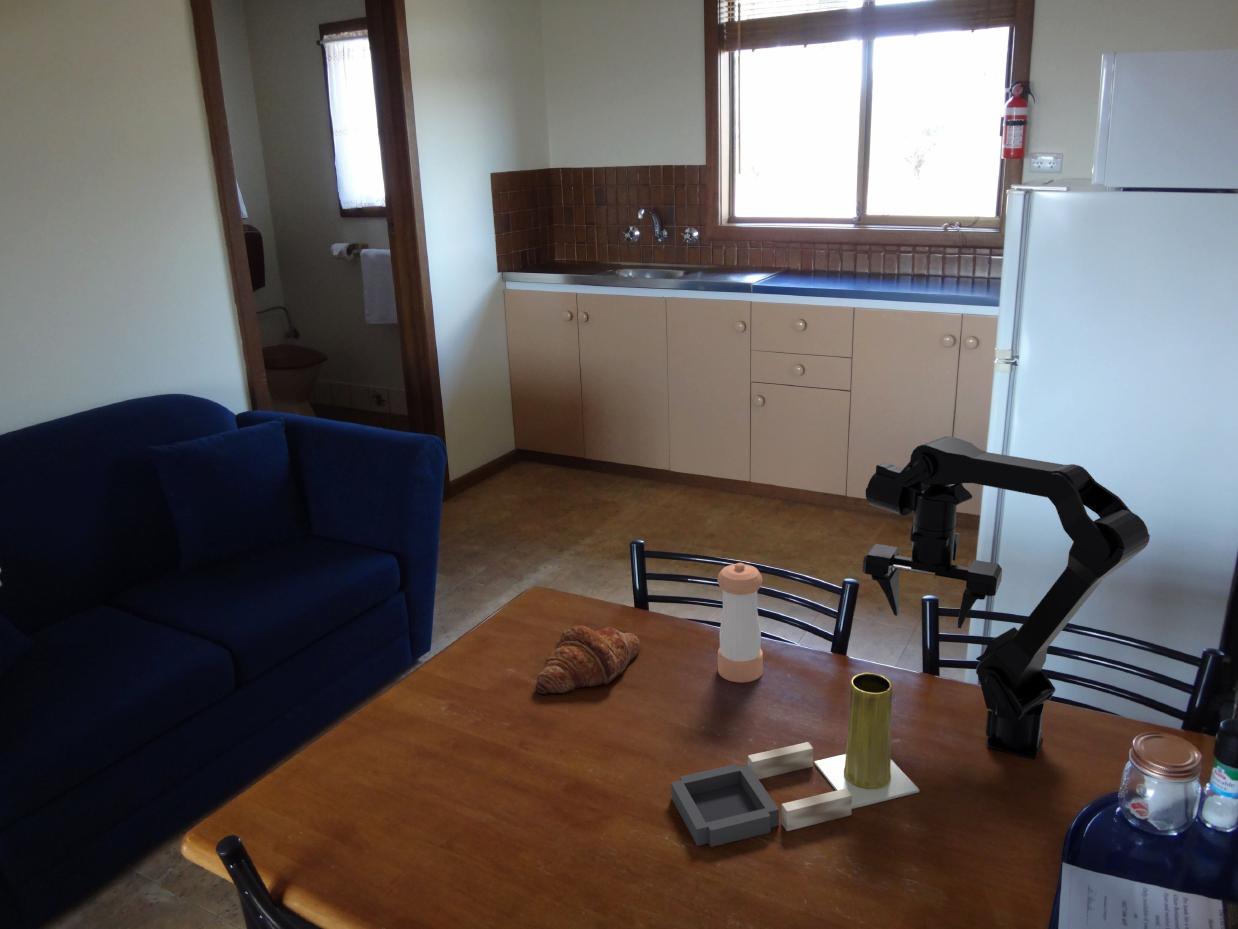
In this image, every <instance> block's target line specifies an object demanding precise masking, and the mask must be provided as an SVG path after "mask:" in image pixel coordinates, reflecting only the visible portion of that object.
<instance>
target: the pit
mask: <svg viewBox="0 0 1238 929" xmlns="http://www.w3.org/2000/svg"><path fill="white" fill-rule="evenodd" d="M670 786H671V787H670V788H671V789H670V790H671V791H670V793H671V800H672V801H673V804H674V805H675V807H676V810H677V811H678V813H679V815H680V817H681V818H682V820H683V822H684V824H685V826H686V828H687V829H688V831H689V833H690V836H691V837H692V839H693V842H694V843H695V845H696V847H699V846H703V845H709V847H710V848H713V847H716V846H717V847H718V846H721V845H726V844H730V843H734V842H737V841H741V840H747V839H749V838H753V837H757V836H760V835H761V836H762V835H764V834H769V833H771V828H774V827H779V826H780V809H779V807H778V806H777V804H776V803H775V801H774V800H773V799H772V797H771V796H770V794H769V793H768V791H767V790H766V789H765V787H764V785H763V784H762V783H761V781H760V779H758V778H757V777H756V775H755V774H754V772H753V771H752V769H751V768H750V767H749V765H748V764H746V765H742V766H738V765H737V763H734V764H730V765H726V766H721V767H717V768H711V769H708V770H704V771H703V770H702V771H699V772H694V773H689V774H685V775H681V776H679V780H676V781H672V782H670Z"/></svg>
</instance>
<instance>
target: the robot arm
mask: <svg viewBox="0 0 1238 929" xmlns="http://www.w3.org/2000/svg"><path fill="white" fill-rule="evenodd" d="M963 484H974V485H975V484H976V485H981V486H986V487H990V488H996V489H1002V490H1006V491H1011V492H1016V493H1023V494H1026V495H1032V496H1038V497H1043V498H1048V499H1049V501H1050V502H1051V503H1052V504H1053V506H1054V508H1055V509H1056V512H1057V515H1058V518H1059V520H1060V521H1059V522H1060V523H1061V527H1062V528H1063V531H1064V532H1065V534H1067V535H1068V537H1069V538H1070V539H1071V541H1072V545H1071V547H1070V548H1069V551H1068V557H1067V565H1066V567H1065V569H1064V570H1063V571H1062V573H1061V574H1060V576H1059V577H1058V578H1056V581H1055V582H1054V583H1053V585H1052V586H1051V587H1050V588H1049V590H1048V591H1047V592H1046V594H1045V595H1044V596H1043V598H1042V599H1041V600H1040V602H1039V603H1038V604H1037V605H1036V607H1034V609H1033V610H1032V612H1031V613H1030V614H1029V615H1028V617H1027V618H1026V619H1025V621H1024V622H1023V624H1022V625H1021V626H1020V627H1019V628H1018V629H1017V627H1016V626H1013V627H1011V628H1010V629H1008V630H1007V631H1004V632H1003V633H1001V634H999V635H998V636H995V637H994V638H992V639H991V640H990V641H989V642H988V644H987V646H986V648H985V650H984V652H983V653H982V654H981V655H979V656H977V657H976V658H975V659H976V661H979V662H978V664H977V666H976V669H975V673H976V675H977V678H978V681H979V684H980V689H981V691H982V696H983V698H984V699H983V700H984V704H985V708H987V712H986V713H987V714H986V715H987V716H986V724H985V736H986V737H987V740H986V747H987V748H989V749H993V750H997V751H1001V752H1004V753H1009V754H1013V755H1017V756H1020V757H1024V758H1028V759H1032V760H1034V759H1035V760H1036V759H1037V757H1038V754H1039V750H1040V745H1041V740H1042V737H1043V732H1042V725H1043V715H1044V706H1045V702H1047V701H1049V700H1051V699H1052V697H1053V695H1054V693H1055V692H1056V687H1055V686H1054V685H1053V683H1052V681H1051V680H1050V678H1049V677H1048V675H1047V674H1046V672H1045V671H1044V670H1043V668H1044V665H1045V663H1046V661H1047V652H1048V648H1049V647H1050V646H1051V644H1052V643H1053V642H1054V640H1056V638H1057V637H1058V635H1059V634H1060V633H1061V632H1062V631H1063V629H1064V628H1065V627H1066V626H1067V625H1068V624H1069V622H1070V621H1071V620H1072V619H1073V617H1074V616H1075V615H1076V613H1077V612H1078V611H1079V610H1080V609H1081V607H1082V606H1083V605H1084V604H1085V603H1086V601H1087V600H1088V599H1089V598H1090V596H1091V595H1092V594H1093V593H1094V591H1095V590H1096V589H1097V588H1098V587H1099V585H1100V584H1101V583H1102V582H1103V581H1104V580H1105V579H1106V578H1108V577H1109V576H1110V575H1111V574H1113V573H1115V571H1117V570H1118V569H1120V568H1121V567H1123V566H1124V565H1126V563H1128V562H1129V561H1130V560H1132V559H1133V558H1134V557H1135V556H1137V555H1138V554H1140V553H1141V552H1142V551H1143V550H1144V549H1146V547H1147V546H1148V544H1149V542H1150V537H1151V536H1150V533H1149V529H1148V527H1147V525H1146V523H1145V521H1144V520H1143V519H1142V518H1141V517H1140V516H1139V515H1137V514H1136V513H1134V512H1132V511H1131V510H1130V508H1129V507H1128V506H1127V505H1126V504H1125V502H1124V501H1123V500H1122V499H1121V498H1120V497H1119V496H1118V495H1117V494H1115V493H1114V492H1112V491H1111V490H1109V489H1108V488H1106V487H1105V486H1103V485H1102V484H1101V483H1098V482H1097V480H1095V479H1094V477H1093V476H1092V474H1090V473H1089V471H1088V470H1087V469H1085V467H1083V466H1081V465H1078V464H1075V463H1074V464H1071V463H1070V464H1063V463H1061V464H1060V463H1055V462H1050V461H1049V462H1048V461H1043V460H1037V459H1032V458H1024V457H1018V456H1014V455H1013V456H1012V455H1005V454H1000V453H995V452H994V453H993V452H988V451H985V450H982V449H981V448H978V447H977V446H976V445H975V444H974V443H971V442H969V441H967V440H963V439H961V438H958V437H956V436H942V437H940V438H937V439H934V440H931V441H929V442H925V443H923V444H920V445H918V446H916V447H915V448H914V449H913V451H912V452H911V454H910V460H909V462H908V463H907V464H906V465H905V467H903V468H902V467H898V466H895V465H894V464H892V463H889V462H886V461H885V462H882V463H879V464H877V465H876V466H875V473H874V474H873V475H871V478H870V479H869V481H868V484H867V486H866V488H865V498H866V501H867V503H868V504H869V505H870V506H872V507H873V506H874V507H876V508H879V509H882V510H885V511H888V512H891V513H895V514H898V515H900V516H908V515H910V514H911V513H912V512H913V521H912V525H911V529H910V536H909V541H910V542H912V543H911V544H912V545H911V557H908V556H903V555H900V549H899V547H897V546H893V545H892V546H891V545H887V544H879V543H875V544H873V545H872V546H871V547H870V549H868V551H867V553H866V554H865V555H864V556H863V561H862V572H863V573H864V574H865V575H868V576H869V575H870V576H871V577H870V578H871V580H872V581H876V582H877V583H878V584H879V587H880V588H881V590H882V592H883V593H884V595H885V597H886V600H887V601H888V604H889V607H890V608H891V611H892V614H893V615H894V616H895V617H898V615H899V612H900V605H901V604H900V585H899V583H900V582H899V581H900V580H899V579H900V578H899V577H900V570H902V571H907V572H913V573H914V572H915V573H920V574H925V575H930V576H935V577H936V576H937V577H940V578H941V577H942V578H948V579H954V580H959V581H965V589H964V591H963V593H962V597H961V604H960V608H959V609H960V610H959V614H958V617H957V628H958V629H960V630H961V628H962V627H963V624H964V622H965V620H966V618H967V615H968V614H969V612H970V610H971V609H972V607H973V606H974V605H975V603H976V602H977V600H983V601H984V600H986V598H987V597H993V596H997V593H998V590H999V588H1000V585H1001V583H1002V576H1003V568H1002V567H1001V565H1000V564H999V563H996V562H990V561H984V560H977V559H973V561H972V563H971V565H970V567H968V566H967V567H966V566H963V565H956V564H953V562H954V561H957V558H958V553H959V546H960V538H961V533H960V532H956V522H957V510H958V509H957V508H958V507H957V506H958V505H961V504H962V503H964V502H965V503H966V502H968V501H970V500H971V499H972V498H973V495H972V494H971V492H970V490H968V489H966V488H965V487H964V485H963ZM1086 508H1088V509H1089V510H1091V512H1093V513H1095V514H1096V515H1097V516H1098V517H1099V518H1097V519H1095V520H1093V519H1092V518H1091V517H1090V515H1088V513H1087V509H1086Z"/></svg>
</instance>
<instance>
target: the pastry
mask: <svg viewBox="0 0 1238 929" xmlns="http://www.w3.org/2000/svg"><path fill="white" fill-rule="evenodd" d="M640 647H641V641H640V640H639V639H638V636H637V635H635V634H634V633H633V632H625V633H624V632H622V631H619V630H618V629H616V628H614V627H611V626H606V627H604V628H601V629H599V630H593V629H591V628H589V627H588V626H585V625H573V626H570V627H566V628H565V630H564V631H563V632H562V634H560V637H559V638H558V640H556V642H555V646H554V649H553V650H552V651H551V652H550V653H548V655H547V657H546V659H545V661H544V666H543V667H542V669H541V671H540V672H539V674H538V676H537V677H536V681H535V685H534V687H535V690H536V692H537V694H539V693H540V694H539V695H541V694H545V693H547V694H548V693H549V694H551V693H552V694H553V693H562V694H566V693H565V692H567V693H569V691H570V690H572V691H574V690H575V689H579V688H578V687H582V689H585V688H584V687H590V688H593V687H592V686H594V687H596V686H597V685H598V686H603V684H604V686H607V685H606V684H608V685H609V684H610V683H611V682H612V681H613V680H615V678H617V677H618V676H620V675H621V674H622V673H623V672H624V671H625V670H626V667H627V666H628V664H629V663H630V661H632V660H634V659H635V658H636V656H637V655H638V653H639V652H640ZM598 686H597V687H598ZM573 689H574V690H573ZM570 692H571V691H570ZM545 695H546V694H545Z"/></svg>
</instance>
